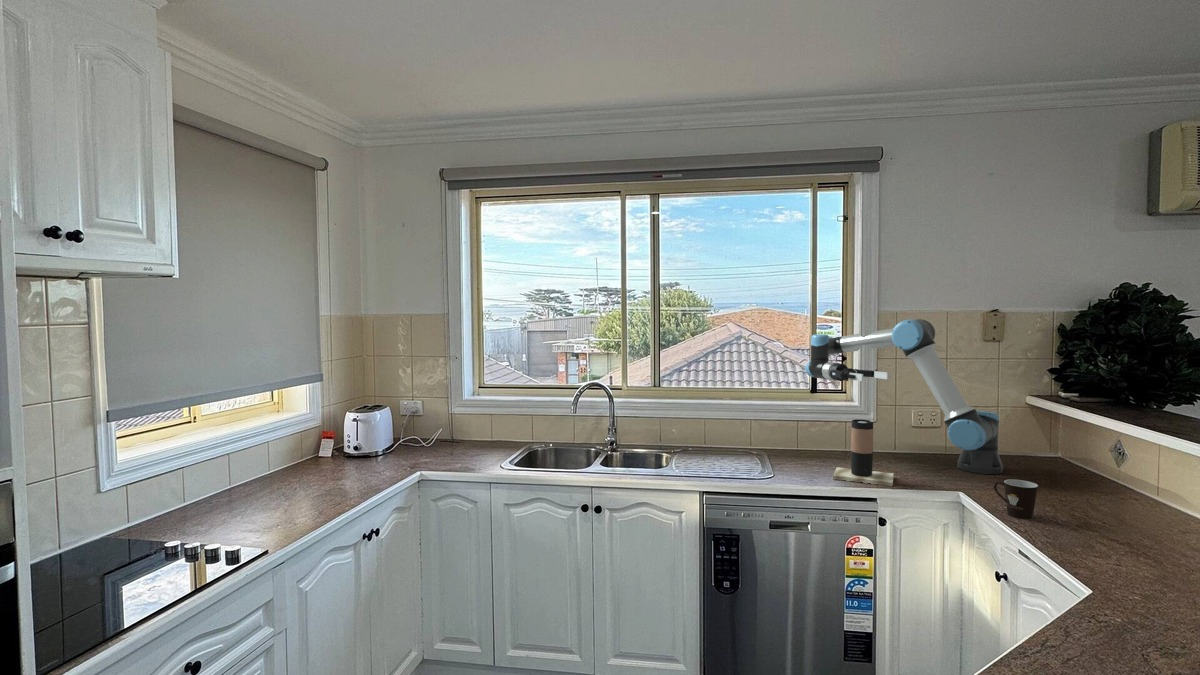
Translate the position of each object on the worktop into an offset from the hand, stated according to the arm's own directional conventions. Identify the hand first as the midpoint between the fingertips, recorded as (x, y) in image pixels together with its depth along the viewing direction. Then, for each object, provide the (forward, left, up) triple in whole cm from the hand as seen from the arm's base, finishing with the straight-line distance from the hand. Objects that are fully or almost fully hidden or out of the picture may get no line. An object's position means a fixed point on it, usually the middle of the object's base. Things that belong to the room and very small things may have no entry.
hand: (875, 376), depth 245 cm
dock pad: (+3, +21, -36) cm, 42 cm away
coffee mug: (-42, +43, -36) cm, 70 cm away
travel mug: (+3, +21, -35) cm, 41 cm away
